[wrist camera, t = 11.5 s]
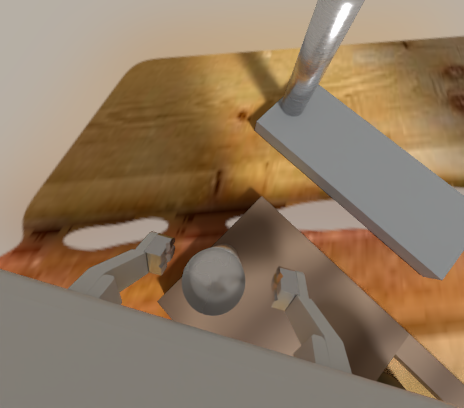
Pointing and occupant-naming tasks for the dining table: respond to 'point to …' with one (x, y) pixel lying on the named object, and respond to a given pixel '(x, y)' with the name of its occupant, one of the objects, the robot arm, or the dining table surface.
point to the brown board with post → (275, 320)
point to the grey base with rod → (362, 157)
